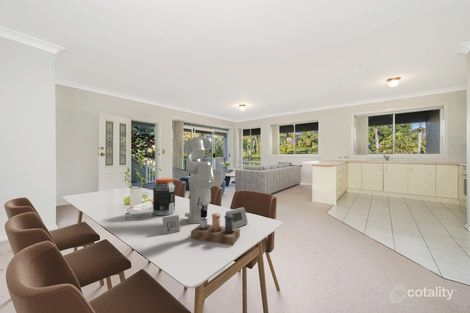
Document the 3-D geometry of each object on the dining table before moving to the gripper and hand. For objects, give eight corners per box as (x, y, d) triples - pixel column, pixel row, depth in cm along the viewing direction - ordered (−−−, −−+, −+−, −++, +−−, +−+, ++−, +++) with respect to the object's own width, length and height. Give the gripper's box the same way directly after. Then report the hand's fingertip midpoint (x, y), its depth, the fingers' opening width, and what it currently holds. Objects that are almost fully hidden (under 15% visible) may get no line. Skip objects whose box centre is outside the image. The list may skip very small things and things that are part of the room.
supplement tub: (179, 212, 149) (179, 179, 148) (159, 217, 137) (159, 181, 136) (168, 208, 159) (168, 177, 159) (149, 213, 147) (149, 179, 147)
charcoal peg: (223, 233, 103) (223, 217, 103) (226, 230, 108) (226, 214, 107) (231, 235, 101) (231, 218, 101) (234, 231, 106) (234, 215, 106)
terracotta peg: (210, 232, 105) (210, 215, 105) (213, 228, 110) (213, 212, 110) (218, 233, 104) (218, 216, 104) (221, 229, 108) (221, 213, 108)
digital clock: (229, 230, 116) (229, 213, 116) (222, 226, 124) (222, 209, 123) (251, 225, 125) (251, 209, 124) (243, 221, 132) (243, 206, 132)
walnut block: (190, 238, 105) (191, 231, 105) (201, 230, 116) (201, 223, 116) (233, 245, 97) (233, 237, 97) (239, 236, 109) (239, 228, 109)
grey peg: (197, 233, 108) (197, 217, 107) (201, 230, 112) (201, 215, 112) (205, 234, 106) (205, 218, 106) (209, 231, 111) (209, 215, 110)
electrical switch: (163, 235, 109) (163, 218, 109) (161, 232, 113) (161, 216, 114) (180, 231, 114) (179, 215, 114) (177, 229, 118) (177, 214, 119)
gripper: (204, 182, 117) (203, 212, 117) (191, 185, 103) (191, 220, 103) (215, 182, 115) (215, 213, 115) (204, 186, 100) (203, 222, 100)
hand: (203, 216), depth 109 cm, fingers closed
